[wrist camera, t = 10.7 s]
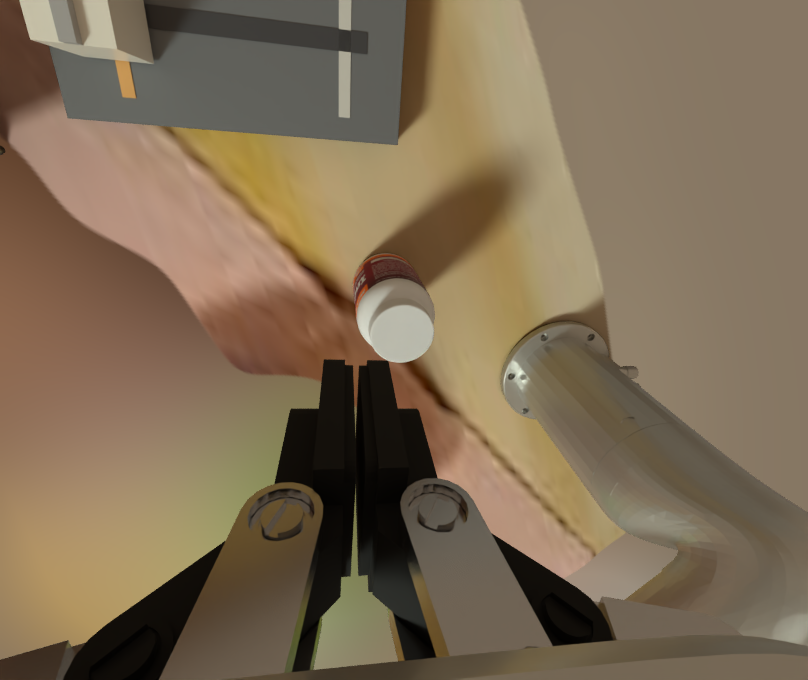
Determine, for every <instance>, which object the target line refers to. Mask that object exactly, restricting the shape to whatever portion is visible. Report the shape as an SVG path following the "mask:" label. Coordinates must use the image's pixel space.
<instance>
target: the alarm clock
mask: <svg viewBox="0 0 808 680" xmlns="http://www.w3.org/2000/svg"><path fill="white" fill-rule="evenodd" d="M3 153H5V149H4V148H3V147H2V146H0V155H2V154H3Z"/></svg>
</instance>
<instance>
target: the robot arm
mask: <svg viewBox="0 0 808 680" xmlns="http://www.w3.org/2000/svg"><path fill="white" fill-rule="evenodd" d="M637 376H638V369H637V368H636V367H634V366H623V367H620V366H618V365H617V364H616V363H615V362H613V361H612V360H611V359H610V358H609V352H608V348H607V345H606V343H605V341H604V339H603V338H602V337H601V336H600V335H599V334H598V333H597V332H596V331H594V330H593V329H592V328H590V327H589V326H586V325H584V324H582V323H578V322H573V321H561V322H556V323H551V324H548V325H545V326H543V327H540V328H538V329H537V330H535V331H533V332H531V333H530V334H528V335H527V336H526V337H524V338H523V339H522V340H521V341H520V342H519V343H518V344H517V345H516V346H515V347H514V348H513V350H512V351H511V353H510V354H509V356H508V357H507V359H506V362H505V364H504V366H503V370H502V374H501V388H502V393H503V395H504V397H505V399H506V401H507V402H508V404H509V405H510V407H511V408H512V409H513V410H514V411H515V412H517V413H518V414H520V415H522V416H524V417H527V418H530V419H537V421H538V422H539V424H540V425H541V426H542V428H543V429H544V430H545V432H546V433H547V435H548V436H549V437H550V439H551V440H552V442H553V443H554V444H555V446H556V447H557V448H558V450H559V451H560V453H561V454H562V455H563V457H564V458H565V460H566V461H567V462H568V464H569V465H570V466H571V468H572V469H573V471H574V472H575V473H576V475H577V476H578V477H579V479H580V480H581V482H582V483H583V484H584V486H585V487H586V489H587V490H588V491H589V493H590V494H591V495H592V497H593V498H594V500H595V501H596V502H597V504H598V505H599V506H600V508H601V509H602V510H603V512H604V513H605V514H606V515H607V516H608V517H609V519H610V520H611V521H613V522H614V523H615V524H616V525H617V526H618V527H620V528H621V529H623V530H624V531H626V532H627V533H629V534H632V535H633V536H636V537H638V538H640V539H643V540H645V541H648V542H651V543H654V544H658V545H661V546H664V547H668V548H672V549H676V550H678V554H677V556H676V557H675V559H674V560H673V561H671V562H670V563H669V564H668V565H667V566H666V567H664V568H663V569H662V571H661V573H659V574H658V575H656V576H655V577H654V578H653V579H651V580H650V581H649V582H647V583H646V584H645V585H643V586H642V587H641V588H639V589H638V590H637V591H635V592H634V593H633V594H632V595H630V596H629V597H628V598H626V599H625V600H620V599H614V598H608V597H602V598H601V600H600V602H594V601H592V600H591V598H589V597H588V596H587V595H586V594H584V593H583V592H582V591H581V590H579V589H578V588H577V587H575V586H573V585H572V584H570V583H569V582H567V581H565V580H564V579H562V578H561V577H559V576H558V575H556V574H555V573H553V572H551V571H550V570H548V569H547V568H545V567H544V566H542V565H540V564H539V563H537V562H536V561H534V560H533V559H531V558H529V557H528V556H526V555H525V554H523V553H522V552H520V551H518V550H517V549H515V548H514V547H512V546H511V545H509V544H507V543H506V542H504V541H503V540H501V539H500V538H498V537H496V536H495V535H493V534H492V533H491V532H490V530H489V528H488V527H487V525H486V523H485V521H484V519H483V518H482V516H481V514H480V512H479V510H478V508H477V507H476V505H475V503H474V501H473V500H472V498H471V497H470V496H469V494H468V493H467V492H466V491H465V490H463V489H462V488H461V487H460V486H458V485H456V484H454V483H452V482H450V481H448V480H443V479H438V478H437V474H436V471H435V467H434V464H433V460H432V456H431V453H430V449H429V446H428V442H427V438H426V435H425V431H424V428H423V424H422V420H421V417H420V413H419V411H418V409H398V408H397V403H396V398H395V393H394V388H393V383H392V378H391V373H390V368H389V363H388V361H377V360H367V366H359V378H358V397H357V418H356V437H355V414H354V384H353V365H345V360H324V364H323V374H322V383H321V393H320V403H319V409H291V410H290V413H289V418H288V423H287V427H286V433H285V437H284V442H283V446H282V451H281V456H280V460H279V465H278V470H277V475H276V479H275V484H274V485H270V486H267V487H265V488H263V489H261V490H259V491H257V492H256V493H255V494H254V495H253V496H251V497H250V498H249V499H248V500H247V501H246V503H245V504H244V506H243V507H242V509H241V510H240V512H239V515H238V517H237V519H236V521H235V523H234V525H233V527H232V529H231V531H230V533H229V535H228V537H227V539H226V541H224V542H223V543H222V544H220V545H219V546H217V547H216V548H215V549H213V550H212V551H210V552H209V553H207V554H206V555H205V556H203V557H202V558H200V559H199V560H198V561H196V562H195V563H193V564H192V565H191V566H189V567H188V568H186V569H185V570H183V571H182V572H180V573H179V574H178V575H176V576H175V577H173V578H172V579H170V580H169V581H168V582H166V583H165V584H163V585H162V586H161V587H159V588H158V589H156V590H155V591H154V592H152V593H151V594H149V595H148V596H146V597H145V598H144V599H142V600H141V601H139V602H138V603H136V604H135V605H134V606H132V607H131V608H129V609H128V610H127V611H125V612H124V613H122V614H121V615H119V616H118V617H117V618H115V619H114V620H112V621H111V622H110V623H108V624H107V625H105V626H104V627H103V628H102V629H101V630H99V631H98V632H97V633H96V634H95V635H94V636H92V637H91V638H90V639H89V640H88V641H87V642H86V643H83V644H79V645H76V646H73V647H71V645H70V643H69V641H68V640H67V641H64V642H60V643H57V644H53V645H50V646H46V647H43V648H39V649H36V650H33V651H29V652H25V653H22V654H18V655H15V656H12V657H8V658H5V659H1V660H0V680H808V512H807V511H805V510H803V509H802V508H800V507H799V506H797V505H796V504H794V503H792V502H791V501H789V500H788V499H786V498H785V497H783V496H782V495H780V494H779V493H777V492H776V491H774V490H773V489H771V488H770V487H768V486H767V485H765V484H764V483H763V482H761V481H760V480H758V479H757V478H755V477H754V476H752V475H751V474H750V473H749V472H747V471H746V470H745V469H743V468H742V467H741V466H739V465H738V464H737V463H735V462H734V461H733V460H731V459H730V458H729V457H727V456H726V455H725V454H723V453H722V452H721V451H720V450H718V449H717V448H716V447H714V446H713V445H712V444H711V443H709V442H708V441H707V440H706V439H704V438H703V437H702V436H701V435H699V434H698V433H697V432H696V431H695V430H693V429H692V428H690V427H689V426H688V425H687V424H686V423H684V422H683V421H682V420H680V419H679V418H678V417H677V416H676V415H674V414H673V413H672V412H671V411H670V410H668V409H667V408H666V407H665V406H663V405H662V404H661V403H660V402H658V401H657V400H656V399H655V398H653V397H652V396H651V395H650V394H648V393H647V392H646V391H645V390H644V389H642V388H641V386H640V385H639V384H638V383H635V382H634V381H632V380H631V379H633V378H636V377H637ZM355 484H356V513H357V514H356V515H357V547H358V548H357V549H358V575H359V576H362V575H368V590H369V592H373V595H374V596H375V597H376V598H377V599H379V600H380V601H381V602H382V603H383V604H384V605H385V606H387V607H388V609H387V610H388V621H389V625H390V630H391V634H392V638H393V642H394V646H395V651H396V655H397V659H398V662H388V663H379V664H369V665H358V666H348V667H339V668H329V669H320V670H313V669H314V664H315V658H316V653H317V648H318V643H319V638H320V633H321V627H322V616H323V614H324V613H325V612H326V611H327V610H328V609H329V608H330V607H331V606H332V605H333V604H334V603H335V602H336V601H337V600H338V599H339V598H340V591H341V577H347V576H350V574H351V556H352V539H353V521H354V502H355Z"/></svg>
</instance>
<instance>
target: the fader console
mask: <svg viewBox="0 0 808 680" xmlns="http://www.w3.org/2000/svg"><path fill="white" fill-rule="evenodd" d="M143 2H144V7H145V13H146V19H147V25H148V31H149V37H150V43H151V49H152V55H153V60H154V64H148V63H138V62H129V61H120V60H110V59H101V58H91V57H83V56H80V55H77V54H74V53H71V52H67V51H64V50H61V49H58V48H55V47H52V46H49V48H50V52H51V56H52V60H53V64H54V67H55V71H56V75H57V79H58V83H59V86H60V90H61V94H62V98H63V102H64V105H65V109H66V113H67V117H68V118H72V119H84V120H96V121H109V122H121V123H133V124H145V125H158V126H170V127H182V128H194V129H207V130H219V131H231V132H243V133H256V134H268V135H280V136H293V137H305V138H317V139H329V140H342V141H354V142H366V143H378V144H391V145H398V131H399V115H400V98H401V82H402V65H403V49H404V32H405V16H406V0H143Z"/></svg>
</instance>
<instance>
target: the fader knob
mask: <svg viewBox="0 0 808 680" xmlns="http://www.w3.org/2000/svg"><path fill="white" fill-rule="evenodd" d="M19 1H20V5H21V8H22V12H23V15H24V19H25V23H26V26H27V30H28V33H29V37H30V40H33V41H36V42H39V43H43V44H46V45H49V46H52V47H55V48H58V49H61V50H64V51H67V52H71V53H74V54H77V55H80V56H83V57H91V58H101V59H110V60H120V61H129V62H138V63H148V64H154V60H153V55H152V49H151V43H150V37H149V31H148V25H147V19H146V13H145V7H144V2H143V0H19Z"/></svg>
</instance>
